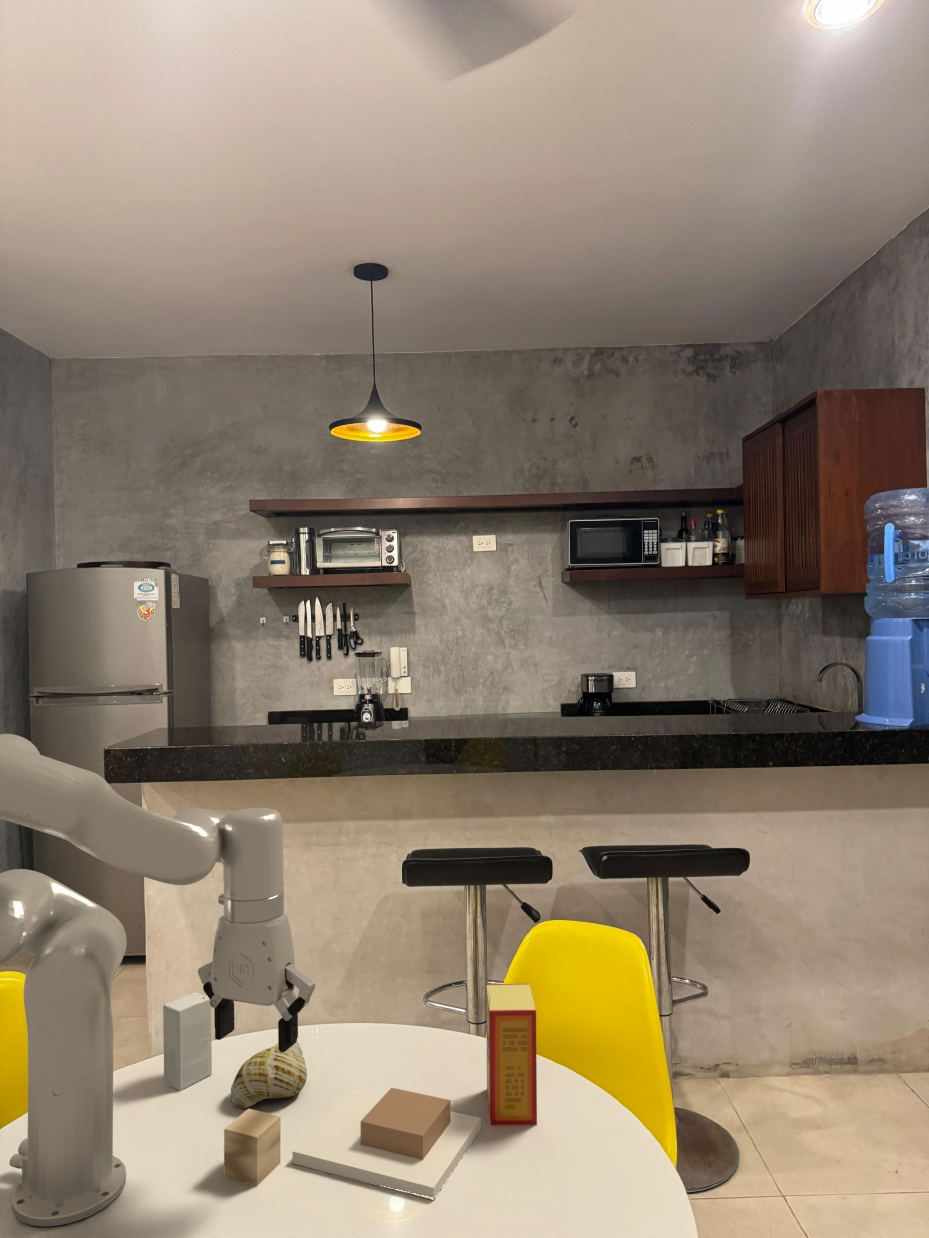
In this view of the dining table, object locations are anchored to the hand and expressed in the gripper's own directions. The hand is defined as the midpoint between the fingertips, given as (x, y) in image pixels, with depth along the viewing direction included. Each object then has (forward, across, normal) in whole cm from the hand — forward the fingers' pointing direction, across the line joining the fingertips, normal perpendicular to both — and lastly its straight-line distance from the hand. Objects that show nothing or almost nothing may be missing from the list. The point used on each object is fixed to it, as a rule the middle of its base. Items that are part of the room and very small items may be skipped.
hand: (255, 1041), depth 108 cm
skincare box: (+16, -24, +15) cm, 32 cm away
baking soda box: (+17, +26, +26) cm, 40 cm away
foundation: (+16, +14, +11) cm, 24 cm away
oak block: (+16, 0, 0) cm, 16 cm away
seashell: (+16, -9, +16) cm, 24 cm away
